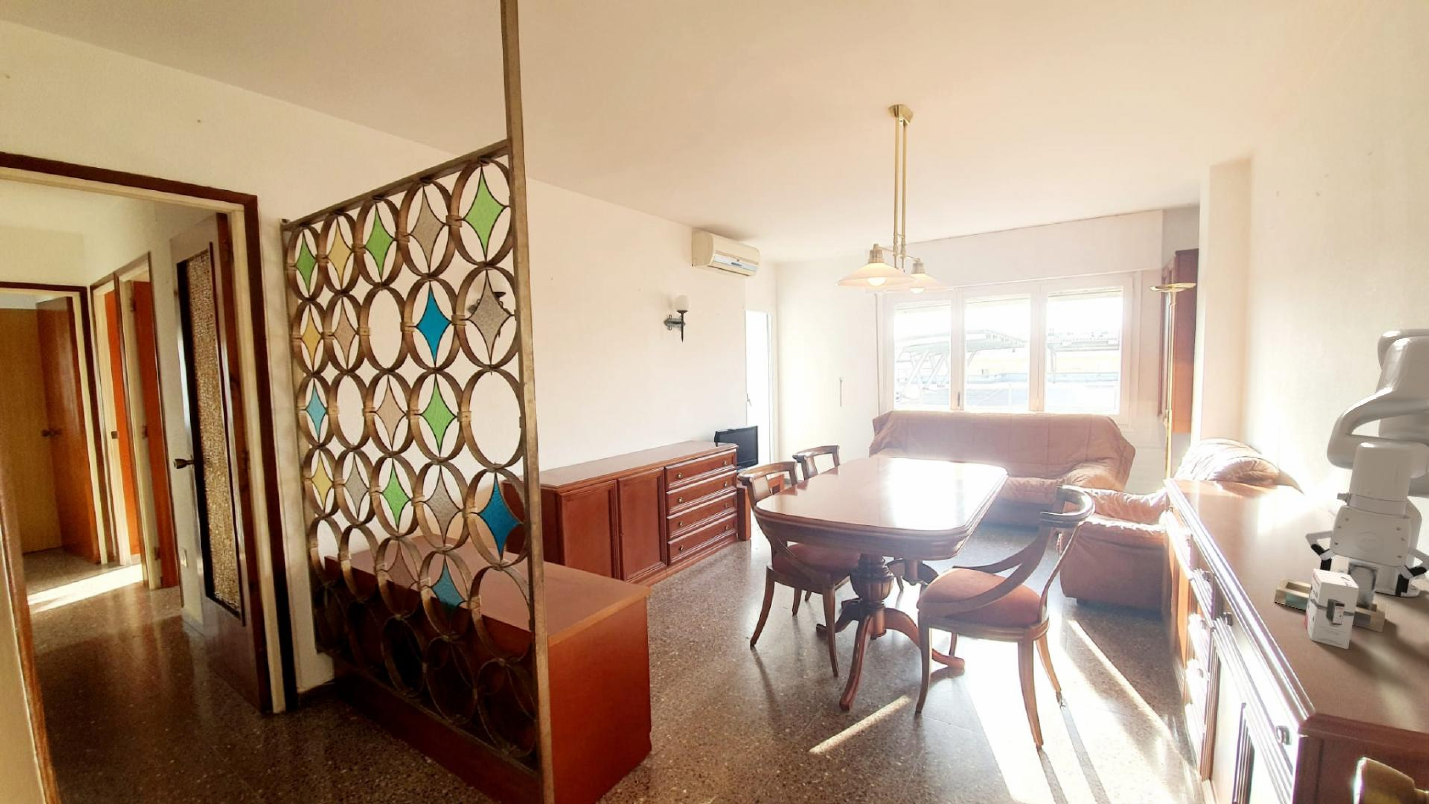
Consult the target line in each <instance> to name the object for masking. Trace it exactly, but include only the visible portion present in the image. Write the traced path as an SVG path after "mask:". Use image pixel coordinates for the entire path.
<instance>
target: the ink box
mask: <svg viewBox="0 0 1429 804" xmlns="http://www.w3.org/2000/svg"><path fill="white" fill-rule="evenodd" d="M1310 584H1311V587H1310V593H1309V599H1308V604H1307V610H1306V611H1305V615H1304V621H1303V624H1304V626H1305V629H1306V632H1307V633H1308V635H1309V638H1310V639H1311V641H1315V642H1319V643H1321V644H1326V645H1330V646H1333V647H1337V648H1341V649H1345V650H1348V649H1349V647H1350V646H1349V644H1350V640H1351V634H1352V629H1353V628H1352V627H1353V619H1354V613H1355V608H1356V603H1357V598H1358V593H1359V587H1358V586H1357V584H1356V583H1355V581H1354V580H1353V579H1352V577H1351V576H1350V575H1348V574H1343V573H1337V571H1331V570H1330V571H1325V570H1320V568H1315V567H1314V568H1313V570H1312V576H1311V581H1310Z"/></svg>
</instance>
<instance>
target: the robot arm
mask: <svg viewBox="0 0 1429 804" xmlns="http://www.w3.org/2000/svg"><path fill="white" fill-rule="evenodd" d="M1377 358H1378V363H1379V366H1380V370H1381V372H1380V375H1379V379H1378V382H1377V384H1376V389H1375V391H1374V392H1375V393H1374V394H1373V395H1371V396H1369V397H1366V398H1364V399H1362V400H1360V401H1357V402H1356V403H1354V404H1352V405H1351V406H1350V407H1348V408H1347V409H1346V410H1344V411H1343V412H1342V413H1341V414H1340V415H1339V417H1338V418H1337V419H1336V421H1335V423H1334V424H1333V428H1332V432H1331V435H1330V437H1329V441H1328V444H1327V448H1326V449H1327V450H1326V457H1327V460H1328V462H1329V463H1330V464H1331V465H1333V466H1334V467H1337V468H1340V469H1345V470H1352V471H1351V472H1352V473H1351V477H1350V483H1349V488H1348V492H1346V493H1345V492H1344V493H1343V492H1342V493H1341V492H1337V494H1336V495H1337V496H1336V500H1340V501H1343V502H1344V503H1346V504H1342V505H1340V507H1339V509H1338V511H1337V513H1336V517H1335V520H1334V521H1333V526H1332V529H1331V530H1323V531H1317V532H1315V531H1314V532H1308V533H1306V534H1305V539H1306V541H1307V543H1308V545H1309V546H1310V548H1311V550H1312V551H1313V552H1314V553H1315V554H1316V555H1317V556H1318V557H1319V558H1320V559H1321V560H1320V565H1319V569H1320V570H1325V571H1331V568H1332V562H1333V559H1332V558H1333V557H1336V556H1339V557H1340V556H1341V557H1344V558H1348V562H1347V567H1346V568H1340V569H1337V570H1336V572H1337V573H1343V574H1347V570H1348V565H1349V562H1360V563H1365V564H1369V565H1372V566H1375V567H1377V568H1379V572H1378V577H1377V582H1376V587H1375V593H1376V592H1378V593H1381V594H1384V595H1385V594H1386V595H1389V596H1391V595H1392V596H1395V597H1398V598H1401V597H1408V598H1410V597H1418V596H1420V591H1421V590H1420V589H1419V588H1418V587H1417V586H1416V585H1413V584H1412V583H1413V582H1412V581H1413V580H1424V579H1426V574H1427V572H1428V571H1429V554H1426V553H1425V552H1423V551H1421V550H1419V549H1418V542H1419V537H1420V533H1421V527H1422V523H1423V517H1422V514H1421V512H1420V510H1419V509H1418V507H1417V506H1415V504H1414V503H1413V501H1411V500H1410V499H1409V498H1408V497H1413V498H1422V499H1429V328H1403V329H1402V328H1401V329H1396V330H1391V331H1390V330H1389V331H1387V332H1385V333H1383V334H1382V335H1381V336H1380V337H1379V339H1378V342H1377ZM1375 421H1379V424H1378V431H1377V432H1378V436H1373V435H1363V434H1354V431H1355V430H1357V428H1360V427H1361V426H1362V425H1365V424H1368V423H1372V422H1375ZM1323 539H1329V547H1328V548H1326V549H1324V548H1323V547H1322V545H1320V544H1319V542H1318V540H1323ZM1415 558H1416V559H1418V560H1419V561H1421V563H1419V564H1418V565H1415V566H1414V563H1415Z"/></svg>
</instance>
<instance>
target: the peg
mask: <svg viewBox="0 0 1429 804" xmlns="http://www.w3.org/2000/svg"><path fill="white" fill-rule="evenodd" d="M1347 567H1348V570H1347V574H1348V575H1350V576H1351V577H1352V579H1353V580H1354V581H1355V583H1356V584H1357V586H1358V587H1359V593H1358V598H1357V603H1356V607H1359V608H1363V609H1367V610H1370V611H1371V608H1372V603H1373V600H1374V598H1375V593H1376V591H1375V587H1376V582H1377V577H1378V572H1379V568H1377V567H1375V566H1372V565H1369V564H1365V563H1360V562H1349V565H1348V564H1347Z"/></svg>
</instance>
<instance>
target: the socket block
mask: <svg viewBox="0 0 1429 804" xmlns="http://www.w3.org/2000/svg"><path fill="white" fill-rule="evenodd" d="M1310 587H1311V583H1306V582H1301V581H1300V580H1299V581H1298V580H1294V579H1290V578H1287V577H1282V578H1281V579H1280V581H1279V583H1278V585H1277V587H1276V589H1275V594H1274V598H1273V599H1274V601H1273V603H1274V602H1277V603H1276V604H1278V603H1284V604H1285V605H1287V606H1286V607H1289V606H1293V607H1295V608H1294V609H1296V608H1298V609H1297V610H1299V609H1303V610H1307V604H1308V599H1309V593H1310ZM1285 605H1284V606H1285ZM1386 607H1387V603H1385V602H1382V601H1377V600H1374V599H1373V603H1372V608H1371V611H1370V610H1367V609H1363V608H1359V607H1356V608H1355V613H1354V619H1353V624H1352V626H1357V627H1361V628H1363V629H1368V630H1372V631H1375V632H1378V633H1383V630H1384V624H1385V620H1386ZM1303 610H1302V611H1303Z"/></svg>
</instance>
